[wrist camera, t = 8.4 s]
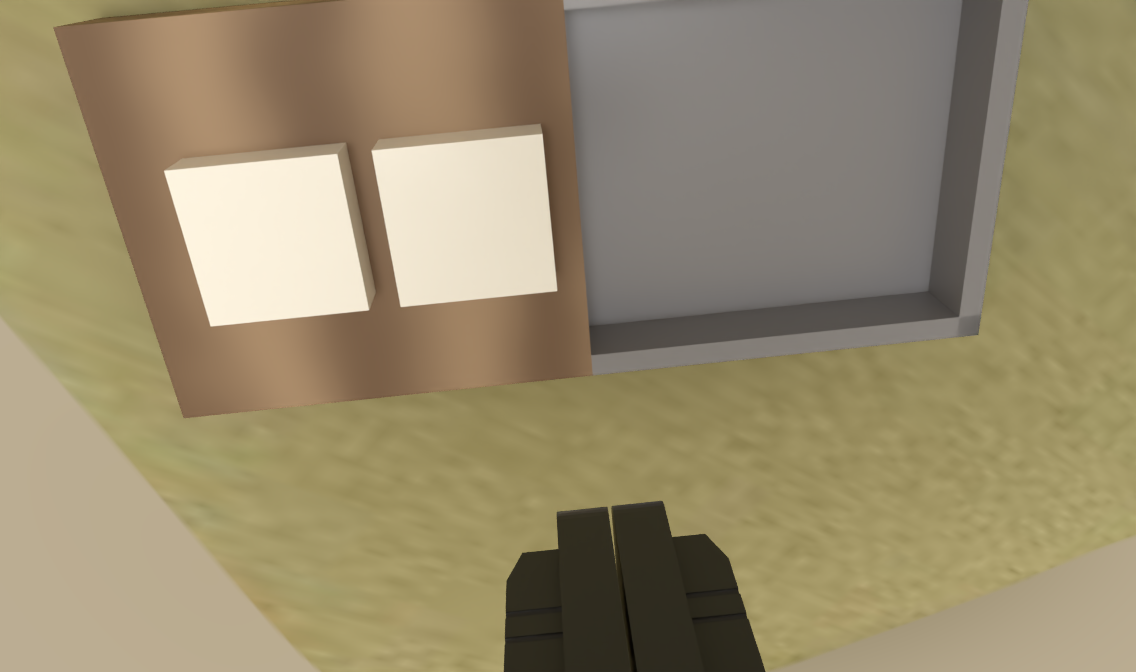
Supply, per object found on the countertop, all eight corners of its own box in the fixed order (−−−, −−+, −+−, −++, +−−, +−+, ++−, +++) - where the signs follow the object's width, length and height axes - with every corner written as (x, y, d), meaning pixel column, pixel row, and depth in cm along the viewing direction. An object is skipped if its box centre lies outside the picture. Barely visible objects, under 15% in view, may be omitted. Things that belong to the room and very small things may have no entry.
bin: (984, -64, 27) (1038, -64, 24) (938, 302, 33) (978, 334, 30) (555, -24, 26) (561, -20, 24) (585, 338, 32) (592, 375, 29)
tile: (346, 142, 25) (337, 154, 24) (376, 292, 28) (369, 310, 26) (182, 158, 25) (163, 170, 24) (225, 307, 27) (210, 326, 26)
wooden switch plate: (555, -24, 26) (561, -20, 24) (585, 338, 32) (592, 375, 29) (99, 18, 26) (53, 27, 23) (211, 377, 32) (183, 418, 29)
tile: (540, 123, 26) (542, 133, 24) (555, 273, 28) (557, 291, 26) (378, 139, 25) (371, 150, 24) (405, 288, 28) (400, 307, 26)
